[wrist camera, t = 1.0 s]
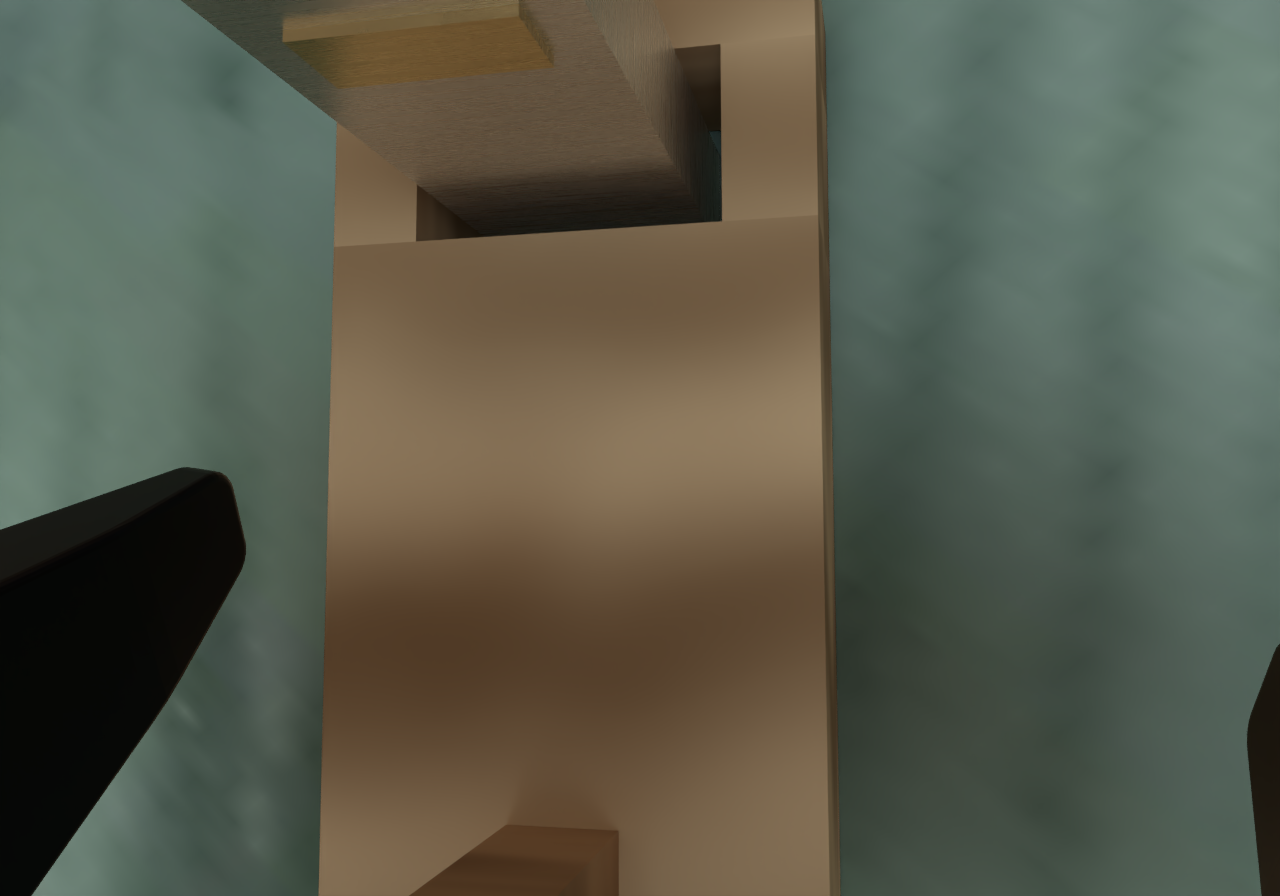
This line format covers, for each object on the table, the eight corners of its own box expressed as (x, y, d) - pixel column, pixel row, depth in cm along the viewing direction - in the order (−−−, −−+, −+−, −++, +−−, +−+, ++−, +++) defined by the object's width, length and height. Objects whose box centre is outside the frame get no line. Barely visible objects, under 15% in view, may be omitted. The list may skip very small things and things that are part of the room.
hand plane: (843, 1027, 21) (818, 1303, 14) (409, 988, 23) (171, 1210, 15) (825, 33, 23) (795, -227, 15) (424, 73, 25) (218, -139, 17)
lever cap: (721, 257, 23) (556, -37, 12) (517, 269, 24) (176, 10, 13) (719, 151, 23) (557, -242, 12) (518, 167, 24) (183, -182, 13)
